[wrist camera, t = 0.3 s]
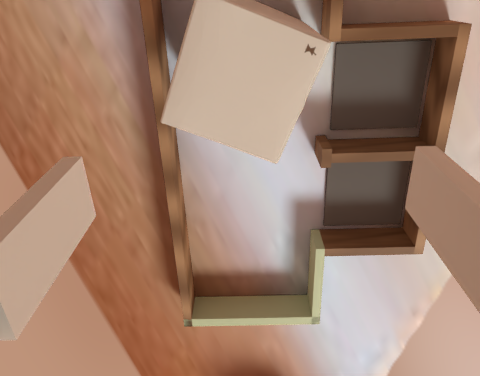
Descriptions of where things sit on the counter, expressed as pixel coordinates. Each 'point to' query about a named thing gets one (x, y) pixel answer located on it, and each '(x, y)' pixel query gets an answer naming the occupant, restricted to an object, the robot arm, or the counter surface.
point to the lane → (327, 151)
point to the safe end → (267, 301)
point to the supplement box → (243, 75)
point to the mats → (373, 126)
